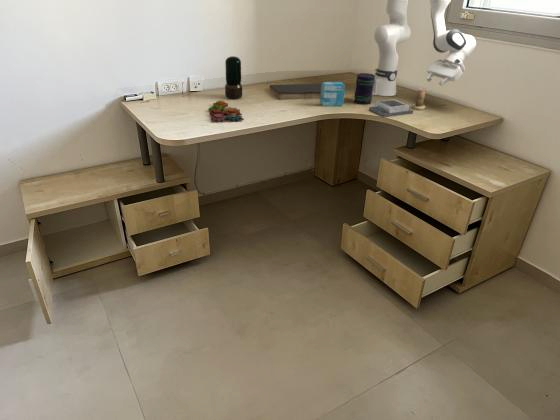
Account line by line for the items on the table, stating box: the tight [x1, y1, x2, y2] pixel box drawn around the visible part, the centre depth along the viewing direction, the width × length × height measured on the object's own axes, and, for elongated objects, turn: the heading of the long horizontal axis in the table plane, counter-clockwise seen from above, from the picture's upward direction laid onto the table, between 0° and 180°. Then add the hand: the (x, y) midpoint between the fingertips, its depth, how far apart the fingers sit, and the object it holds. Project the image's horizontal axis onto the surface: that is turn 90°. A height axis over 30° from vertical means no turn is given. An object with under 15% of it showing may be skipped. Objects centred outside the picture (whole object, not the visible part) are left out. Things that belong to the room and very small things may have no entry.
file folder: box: [269, 82, 323, 101], centre depth 252 cm, size 33×4×24 cm
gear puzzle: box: [208, 100, 245, 124], centre depth 215 cm, size 31×16×4 cm, turn 12°
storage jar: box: [353, 72, 375, 106], centre depth 237 cm, size 10×10×15 cm
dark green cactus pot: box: [224, 55, 243, 100], centre depth 234 cm, size 10×10×22 cm
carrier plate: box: [368, 98, 414, 118], centre depth 226 cm, size 13×19×4 cm
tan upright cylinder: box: [411, 88, 427, 111], centre depth 232 cm, size 7×7×10 cm
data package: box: [319, 81, 346, 107], centre depth 231 cm, size 12×4×12 cm, turn 98°
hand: (434, 82), depth 231 cm, fingers open, 8 cm apart
